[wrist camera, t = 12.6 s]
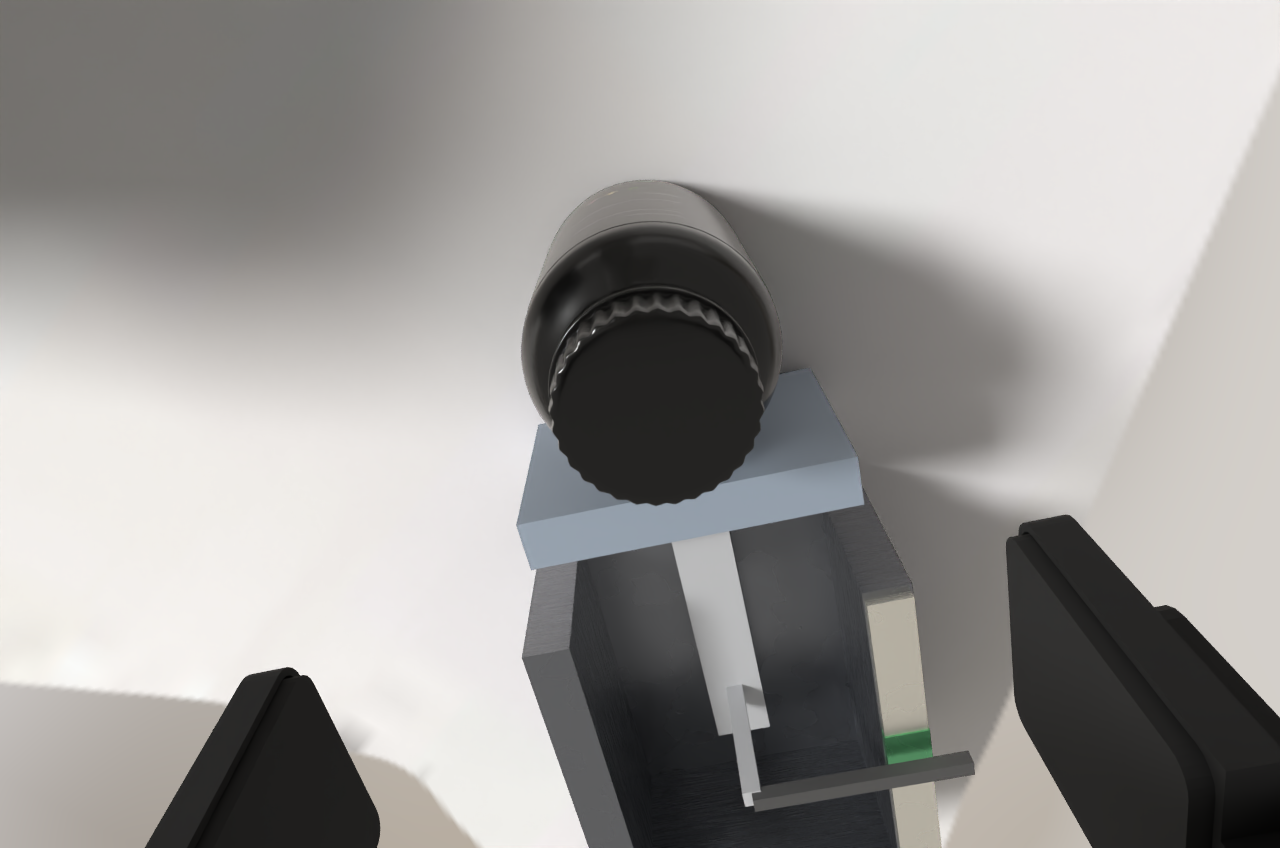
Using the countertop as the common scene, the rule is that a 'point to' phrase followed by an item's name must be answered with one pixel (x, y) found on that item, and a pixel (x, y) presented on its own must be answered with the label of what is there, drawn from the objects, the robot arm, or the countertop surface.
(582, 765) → the box
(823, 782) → the gauge plunger
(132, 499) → the countertop surface
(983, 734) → the countertop surface
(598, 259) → the supplement bottle
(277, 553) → the countertop surface
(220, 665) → the countertop surface
